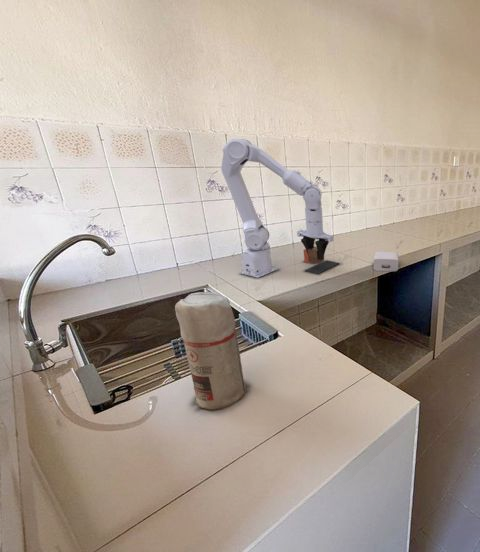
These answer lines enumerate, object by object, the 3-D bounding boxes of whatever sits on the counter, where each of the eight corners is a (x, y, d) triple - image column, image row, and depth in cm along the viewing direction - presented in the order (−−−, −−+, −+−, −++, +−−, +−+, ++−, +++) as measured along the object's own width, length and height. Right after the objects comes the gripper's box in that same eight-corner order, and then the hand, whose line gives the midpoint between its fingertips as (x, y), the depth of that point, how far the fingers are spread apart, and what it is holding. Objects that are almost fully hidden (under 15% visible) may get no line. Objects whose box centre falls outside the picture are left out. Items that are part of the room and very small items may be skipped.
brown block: (317, 264, 119) (316, 250, 118) (308, 262, 121) (307, 248, 119) (324, 260, 123) (323, 247, 121) (315, 259, 124) (314, 246, 123)
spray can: (189, 393, 61) (166, 294, 54) (236, 374, 67) (220, 282, 60) (204, 419, 56) (180, 313, 49) (253, 396, 61) (238, 298, 54)
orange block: (312, 263, 130) (311, 251, 128) (304, 261, 131) (303, 249, 129) (319, 260, 134) (319, 248, 132) (311, 258, 135) (311, 246, 133)
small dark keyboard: (318, 274, 119) (318, 273, 119) (305, 271, 122) (304, 270, 122) (339, 264, 130) (339, 263, 130) (326, 261, 133) (326, 260, 133)
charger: (397, 258, 139) (398, 271, 125) (375, 258, 139) (373, 270, 125) (397, 248, 137) (398, 259, 123) (375, 247, 137) (373, 258, 123)
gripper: (338, 221, 117) (339, 258, 122) (305, 216, 123) (307, 252, 128) (325, 225, 111) (327, 263, 116) (291, 220, 117) (294, 256, 122)
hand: (316, 257), depth 121 cm, fingers closed on brown block, 4 cm apart
